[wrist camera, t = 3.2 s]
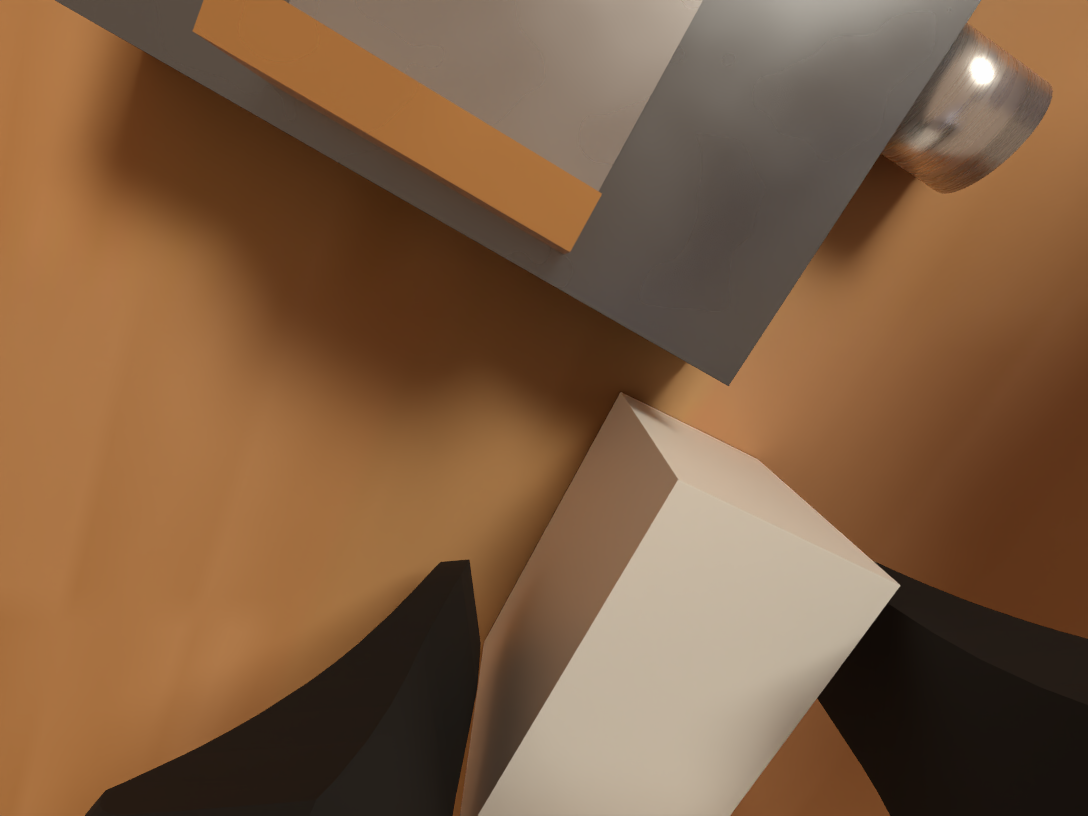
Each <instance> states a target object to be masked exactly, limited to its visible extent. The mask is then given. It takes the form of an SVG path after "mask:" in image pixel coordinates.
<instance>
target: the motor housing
mask: <svg viewBox="0 0 1088 816" xmlns="http://www.w3.org/2000/svg"><path fill="white" fill-rule="evenodd" d="M55 1H57V2H59V3H61V4H62V5H64V6H66V7H68V8H69V9H71V10H73V11H75V12H76V13H78V14H80V15H81V16H83V17H85V18H87V19H88V20H90V21H92V22H94V23H95V24H97V25H99V26H101V27H102V28H104V29H106V30H108V31H109V32H111V33H113V34H115V35H116V36H118V37H120V38H122V39H123V40H125V41H127V42H129V43H130V44H132V45H134V46H136V47H137V48H139V49H141V50H143V51H144V52H146V53H148V54H150V55H151V56H153V57H155V58H157V59H158V60H160V61H162V62H164V63H165V64H167V65H169V66H171V67H172V68H174V69H176V70H178V71H179V72H181V73H183V74H184V75H186V76H188V77H190V78H191V79H193V80H195V81H197V82H198V83H200V84H202V85H204V86H205V87H207V88H209V89H211V90H212V91H214V92H216V93H218V94H219V95H221V96H223V97H225V98H226V99H228V100H230V101H232V102H233V103H235V104H237V105H239V106H240V107H242V108H244V109H246V110H247V111H249V112H251V113H253V114H254V115H256V116H258V117H260V118H261V119H263V120H265V121H267V122H268V123H270V124H272V125H274V126H275V127H277V128H279V129H280V130H282V131H284V132H286V133H287V134H289V135H291V136H293V137H294V138H296V139H298V140H300V141H301V142H303V143H305V144H307V145H308V146H310V147H312V148H314V149H315V150H317V151H319V152H321V153H322V154H324V155H326V156H328V157H329V158H331V159H333V160H335V161H336V162H338V163H340V164H342V165H343V166H345V167H347V168H349V169H350V170H352V171H354V172H356V173H357V174H359V175H361V176H363V177H364V178H366V179H368V180H370V181H371V182H373V183H375V184H376V185H378V186H380V187H382V188H383V189H385V190H387V191H389V192H390V193H392V194H394V195H396V196H397V197H399V198H401V199H403V200H404V201H406V202H408V203H410V204H411V205H413V206H415V207H417V208H418V209H420V210H422V211H424V212H425V213H427V214H429V215H431V216H432V217H434V218H436V219H438V220H439V221H441V222H443V223H445V224H446V225H448V226H450V227H452V228H453V229H455V230H457V231H459V232H460V233H462V234H464V235H466V236H467V237H469V238H471V239H473V240H474V241H476V242H478V243H479V244H481V245H483V246H485V247H486V248H488V249H490V250H492V251H493V252H495V253H497V254H499V255H500V256H502V257H504V258H506V259H507V260H509V261H511V262H513V263H514V264H516V265H518V266H520V267H521V268H523V269H525V270H527V271H528V272H530V273H532V274H534V275H535V276H537V277H539V278H541V279H542V280H544V281H546V282H548V283H549V284H551V285H553V286H555V287H556V288H558V289H560V290H562V291H563V292H565V293H567V294H569V295H570V296H572V297H574V298H575V299H577V300H579V301H581V302H582V303H584V304H586V305H588V306H589V307H591V308H593V309H595V310H596V311H598V312H600V313H602V314H603V315H605V316H607V317H609V318H610V319H612V320H614V321H616V322H617V323H619V324H621V325H623V326H624V327H626V328H628V329H630V330H631V331H633V332H635V333H637V334H638V335H640V336H642V337H644V338H645V339H647V340H649V341H651V342H652V343H654V344H656V345H658V346H659V347H661V348H663V349H665V350H666V351H668V352H670V353H671V354H673V355H675V356H677V357H678V358H680V359H682V360H684V361H685V362H687V363H689V364H691V365H692V366H694V367H696V368H698V369H699V370H701V371H703V372H705V373H706V374H708V375H710V376H712V377H713V378H715V379H717V380H719V381H720V382H722V383H724V384H726V385H727V386H729V384H730V383H731V381H732V380H733V378H734V377H735V375H736V374H737V372H738V371H739V369H740V368H741V366H742V365H743V363H744V362H745V360H746V359H747V357H748V355H749V354H750V352H751V351H752V349H753V348H754V346H755V345H756V343H757V342H758V340H759V339H760V337H761V336H762V334H763V333H764V331H765V329H766V328H767V326H768V325H769V323H770V322H771V320H772V319H773V317H774V316H775V314H776V313H777V311H778V310H779V308H780V307H781V305H782V304H783V302H784V300H785V299H786V297H787V296H788V294H789V293H790V291H791V290H792V288H793V287H794V285H795V284H796V282H797V281H798V279H799V278H800V276H801V275H802V273H803V271H804V270H805V268H806V267H807V265H808V264H809V262H810V261H811V259H812V258H813V256H814V255H815V253H816V252H817V250H818V249H819V247H820V246H821V244H822V242H823V241H824V239H825V238H826V236H827V235H828V233H829V232H830V230H831V229H832V227H833V226H834V224H835V223H836V221H837V220H838V218H839V217H840V215H841V213H842V212H843V210H844V209H845V207H846V206H847V204H848V203H849V201H850V200H851V198H852V197H853V195H854V194H855V192H856V191H857V189H858V188H859V186H860V184H861V183H862V181H863V180H864V178H865V177H866V175H867V174H868V172H869V171H870V169H871V168H872V166H873V165H874V163H875V162H876V160H877V158H878V157H879V155H880V154H882V155H883V156H885V157H886V158H888V159H889V160H891V161H892V162H894V163H895V164H897V165H898V166H900V167H901V168H903V169H904V170H906V171H907V172H909V173H910V174H912V175H913V176H914V177H916V178H917V179H919V180H920V181H922V182H923V183H925V184H926V185H928V186H929V187H931V188H932V189H934V190H935V191H937V192H939V193H952V192H956V191H959V190H961V189H964V188H966V187H968V186H970V185H972V184H973V183H975V182H977V181H979V180H980V179H982V178H983V177H985V176H986V175H988V174H989V173H990V172H992V171H993V170H994V169H996V168H997V167H998V166H1000V165H1001V164H1002V163H1003V162H1004V161H1005V160H1007V159H1008V158H1009V157H1010V156H1011V155H1012V154H1013V153H1014V152H1015V151H1016V150H1017V149H1018V148H1019V147H1020V146H1021V145H1022V144H1023V143H1024V142H1025V141H1026V139H1027V138H1028V137H1029V136H1030V135H1031V134H1032V132H1033V131H1034V130H1035V128H1036V127H1037V126H1038V124H1039V123H1040V121H1041V120H1042V118H1043V117H1044V115H1045V113H1046V111H1047V109H1048V107H1049V105H1050V102H1051V99H1052V92H1053V91H1052V86H1051V84H1050V83H1048V82H1047V81H1046V80H1044V79H1043V78H1042V77H1040V76H1039V75H1038V74H1036V73H1035V72H1033V71H1032V70H1031V69H1029V68H1028V67H1027V66H1025V65H1024V64H1023V63H1021V62H1020V61H1018V60H1017V59H1016V58H1014V57H1013V56H1012V55H1010V54H1009V53H1008V52H1006V51H1005V50H1003V49H1002V48H1001V47H999V46H998V45H997V44H995V43H994V42H992V41H991V40H990V39H988V38H987V37H986V36H984V35H983V34H982V33H980V32H979V31H977V30H976V29H975V28H973V27H972V26H971V25H969V24H968V23H967V21H968V20H969V18H970V17H971V15H972V13H973V12H974V10H975V9H976V7H977V6H978V4H979V3H980V1H981V0H55Z"/></svg>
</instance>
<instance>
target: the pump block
mask: <svg viewBox="0 0 1088 816" xmlns="http://www.w3.org/2000/svg"><path fill="white" fill-rule="evenodd" d="M899 587H900V584H898V583H897V582H896V581H895V580H894V579H893V578H892V577H890V576H889V575H888V574H887V573H886V572H885V571H884V570H883V569H881V568H880V567H879V566H878V565H877V564H876V563H875V562H873V561H872V560H871V559H870V558H869V557H868V556H867V555H866V554H864V553H863V552H862V551H861V550H860V549H859V548H858V547H856V546H855V545H854V544H853V543H852V542H851V541H850V540H849V539H847V538H846V537H845V536H844V535H843V534H842V533H841V532H840V531H838V530H837V529H836V528H835V527H834V526H833V525H832V524H830V523H829V522H828V521H827V520H826V519H825V518H824V517H823V516H821V515H820V514H819V513H818V512H817V511H816V510H815V509H813V508H812V507H811V506H810V505H809V504H808V503H807V502H806V501H804V500H803V499H802V498H801V497H800V496H799V495H798V494H797V493H795V492H794V491H793V490H792V489H791V488H790V487H789V486H787V485H786V484H785V483H784V482H783V481H782V480H781V479H780V478H778V477H777V476H776V475H775V474H774V473H773V472H772V471H770V470H769V469H768V468H767V467H766V466H765V465H764V464H763V463H761V462H760V461H759V460H758V459H756V458H754V457H752V456H750V455H748V454H746V453H744V452H742V451H740V450H738V449H736V448H734V447H732V446H730V445H728V444H726V443H724V442H722V441H720V440H718V439H716V438H714V437H712V436H710V435H707V434H705V433H703V432H701V431H699V430H697V429H695V428H693V427H691V426H689V425H687V424H685V423H683V422H681V421H679V420H677V419H675V418H673V417H671V416H669V415H667V414H665V413H663V412H661V411H659V410H657V409H655V408H653V407H651V406H649V405H647V404H645V403H643V402H640V401H638V400H636V399H634V398H632V397H630V396H628V395H626V394H624V393H622V392H620V394H619V396H618V398H617V399H616V401H615V403H614V405H613V407H612V409H611V410H610V412H609V414H608V416H607V418H606V420H605V421H604V423H603V425H602V427H601V429H600V431H599V432H598V434H597V436H596V438H595V440H594V442H593V443H592V445H591V447H590V449H589V451H588V453H587V454H586V456H585V458H584V460H583V462H582V464H581V465H580V467H579V469H578V471H577V473H576V475H575V476H574V478H573V480H572V482H571V484H570V486H569V487H568V489H567V491H566V493H565V495H564V497H563V498H562V500H561V502H560V504H559V506H558V508H557V509H556V511H555V513H554V515H553V517H552V518H551V520H550V522H549V524H548V526H547V528H546V529H545V531H544V533H543V535H542V537H541V539H540V540H539V542H538V544H537V546H536V548H535V550H534V551H533V553H532V555H531V557H530V559H529V561H528V562H527V564H526V566H525V568H524V570H523V572H522V573H521V575H520V577H519V579H518V581H517V583H516V584H515V586H514V588H513V590H512V592H511V594H510V595H509V597H508V599H507V601H506V603H505V605H504V606H503V608H502V610H501V612H500V614H499V616H498V617H497V619H496V621H495V623H494V625H493V627H492V628H491V630H490V632H489V634H488V636H487V638H486V639H485V641H484V646H483V653H482V660H481V668H480V675H479V682H478V689H477V696H476V704H475V711H474V718H473V725H472V732H471V739H470V747H469V754H468V761H467V768H466V775H465V783H464V790H463V797H462V804H461V811H460V816H730V815H731V814H732V812H733V811H734V810H735V808H736V807H737V806H738V804H739V803H740V801H741V800H742V799H743V797H744V796H745V795H746V793H747V792H748V791H749V789H750V788H751V787H752V785H753V784H754V783H755V781H756V780H757V779H758V777H759V776H760V774H761V773H762V772H763V770H764V769H765V768H766V766H767V765H768V764H769V762H770V761H771V760H772V758H773V757H774V756H775V754H776V753H777V752H778V750H779V749H780V747H781V746H782V745H783V743H784V742H785V741H786V739H787V738H788V737H789V735H790V734H791V733H792V731H793V730H794V729H795V727H796V726H797V725H798V723H799V722H800V720H801V719H802V718H803V716H804V715H805V714H806V712H807V711H808V710H809V708H810V707H811V706H812V704H813V703H814V702H815V700H816V699H817V698H818V696H819V695H820V693H821V692H822V691H823V689H824V688H825V687H826V685H827V684H828V683H829V681H830V680H831V679H832V677H833V676H834V675H835V673H836V672H837V671H838V669H839V668H840V666H841V665H842V664H843V662H844V661H845V660H846V658H847V657H848V656H849V654H850V653H851V652H852V650H853V649H854V648H855V646H856V645H857V644H858V642H859V641H860V639H861V638H862V637H863V635H864V634H865V633H866V631H867V630H868V629H869V627H870V626H871V625H872V623H873V622H874V621H875V619H876V618H877V617H878V615H879V614H880V612H881V611H882V610H883V608H884V607H885V606H886V604H887V603H888V602H889V600H890V599H891V598H892V596H893V595H894V594H895V592H896V591H897V590H898V588H899Z"/></svg>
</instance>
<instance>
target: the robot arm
mask: <svg viewBox="0 0 1088 816" xmlns="http://www.w3.org/2000/svg"><path fill="white" fill-rule="evenodd" d="M873 562H874V561H873ZM875 563H876V562H875ZM876 564H877V565H878V566H879V567H880V568H881V569H883V570H884V571H885V572H886V573H887V574H888V575H889V576H890V577H892V578H893V579H894V580H895V581H896V582H897V583H898V584H900V587H899V588H898V590H897V591H896V592H895V594H894V595H893V596H892V598H891V599H890V600H889V602H888V603H887V604H886V606H885V607H884V608H883V610H882V611H881V612H880V614H879V615H878V617H877V618H876V619H875V621H874V622H873V623H872V625H871V626H870V627H869V629H868V630H867V631H866V633H865V634H864V635H863V637H862V638H861V639H860V641H859V642H858V644H857V645H856V646H855V648H854V649H853V650H852V652H851V653H850V654H849V656H848V657H847V658H846V660H845V661H844V662H843V664H842V665H841V666H840V668H839V669H838V671H837V672H836V673H835V675H834V676H833V677H832V679H831V680H830V681H829V683H828V684H827V685H826V687H825V688H824V689H823V691H822V692H821V693H820V695H819V696H818V700H819V701H820V703H821V705H822V706H823V708H824V709H825V711H826V712H827V714H828V715H829V717H830V718H831V720H832V721H833V723H834V724H835V726H836V727H837V729H838V730H839V732H840V733H841V735H842V736H843V738H844V739H845V741H846V742H847V744H848V745H849V747H850V749H851V750H852V752H853V753H854V755H855V756H856V758H857V759H858V761H859V762H860V764H861V765H862V767H863V768H864V770H865V772H866V773H867V775H868V777H869V778H870V780H871V782H872V783H873V785H874V787H875V788H876V790H877V792H878V793H879V795H880V797H881V799H882V801H883V803H884V805H885V806H886V808H887V810H888V812H889V814H890V816H1088V639H1086V638H1083V637H1079V636H1075V635H1072V634H1068V633H1064V632H1061V631H1057V630H1054V629H1050V628H1047V627H1044V626H1040V625H1037V624H1034V623H1031V622H1027V621H1024V620H1021V619H1018V618H1015V617H1012V616H1009V615H1007V614H1004V613H1001V612H998V611H995V610H992V609H989V608H986V607H983V606H980V605H977V604H975V603H972V602H969V601H967V600H964V599H961V598H959V597H956V596H954V595H951V594H949V593H946V592H944V591H941V590H939V589H936V588H934V587H931V586H929V585H926V584H924V583H922V582H919V581H917V580H915V579H912V578H910V577H908V576H905V575H903V574H901V573H899V572H896V571H894V570H892V569H890V568H887V567H885V566H883V565H881V564H879V563H876ZM479 658H480V636H479V628H478V621H477V613H476V606H475V598H474V591H473V583H472V576H471V568H470V561H469V560H459V561H447V562H440V563H439V564H438V565H437V566H436V567H435V568H434V569H433V570H432V571H431V572H430V574H429V575H428V576H427V577H426V578H425V579H424V580H423V581H422V582H421V583H420V584H419V585H418V586H417V587H416V589H415V590H414V591H413V592H412V593H411V594H410V595H409V596H408V597H407V598H406V599H405V600H404V601H403V602H402V603H401V604H400V605H399V606H398V607H397V608H396V609H395V610H394V611H393V612H392V613H391V614H390V615H389V616H388V617H387V618H386V619H385V620H384V621H382V622H381V623H380V624H379V625H378V626H377V627H376V628H375V629H374V630H373V631H372V632H371V633H369V634H368V635H367V636H366V637H365V638H364V639H363V640H362V641H361V642H360V643H359V644H357V645H356V646H355V647H354V648H353V649H351V650H350V651H349V652H348V653H347V654H345V655H344V656H343V657H342V658H340V659H339V660H338V661H336V662H335V663H334V664H332V665H331V666H330V667H328V668H327V669H326V670H325V671H323V672H322V673H321V674H319V675H318V676H317V677H315V678H314V679H312V680H311V681H310V682H308V683H307V684H305V685H304V686H302V687H300V688H299V689H297V690H296V691H294V692H293V693H291V694H290V695H288V696H287V697H285V698H284V699H282V700H280V701H279V702H277V703H276V704H274V705H273V706H271V707H270V708H268V709H267V710H265V711H263V712H262V713H260V714H258V715H257V716H255V717H253V718H252V719H250V720H248V721H246V722H245V723H243V724H241V725H239V726H238V727H236V728H234V729H232V730H231V731H229V732H227V733H225V734H223V735H221V736H219V737H217V738H216V739H214V740H212V741H210V742H208V743H206V744H204V745H203V746H201V747H199V748H197V749H195V750H193V751H191V752H189V753H187V754H185V755H183V756H180V757H178V758H176V759H174V760H172V761H170V762H167V763H165V764H163V765H161V766H159V767H157V768H154V769H152V770H150V771H148V772H146V773H144V774H141V775H139V776H137V777H135V778H133V779H131V780H128V781H126V782H124V783H122V784H119V785H117V786H115V787H112V788H110V789H108V790H106V791H105V792H104V793H103V794H102V795H101V797H100V798H99V799H98V800H97V801H96V802H95V804H94V805H93V806H92V807H91V809H90V810H89V811H88V812H87V813H86V815H85V816H452V815H453V809H454V803H455V797H456V792H457V787H458V782H459V777H460V772H461V767H462V762H463V757H464V752H465V747H466V742H467V738H468V733H469V728H470V723H471V717H472V712H473V707H474V702H475V697H476V692H477V683H478V671H479Z"/></svg>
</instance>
